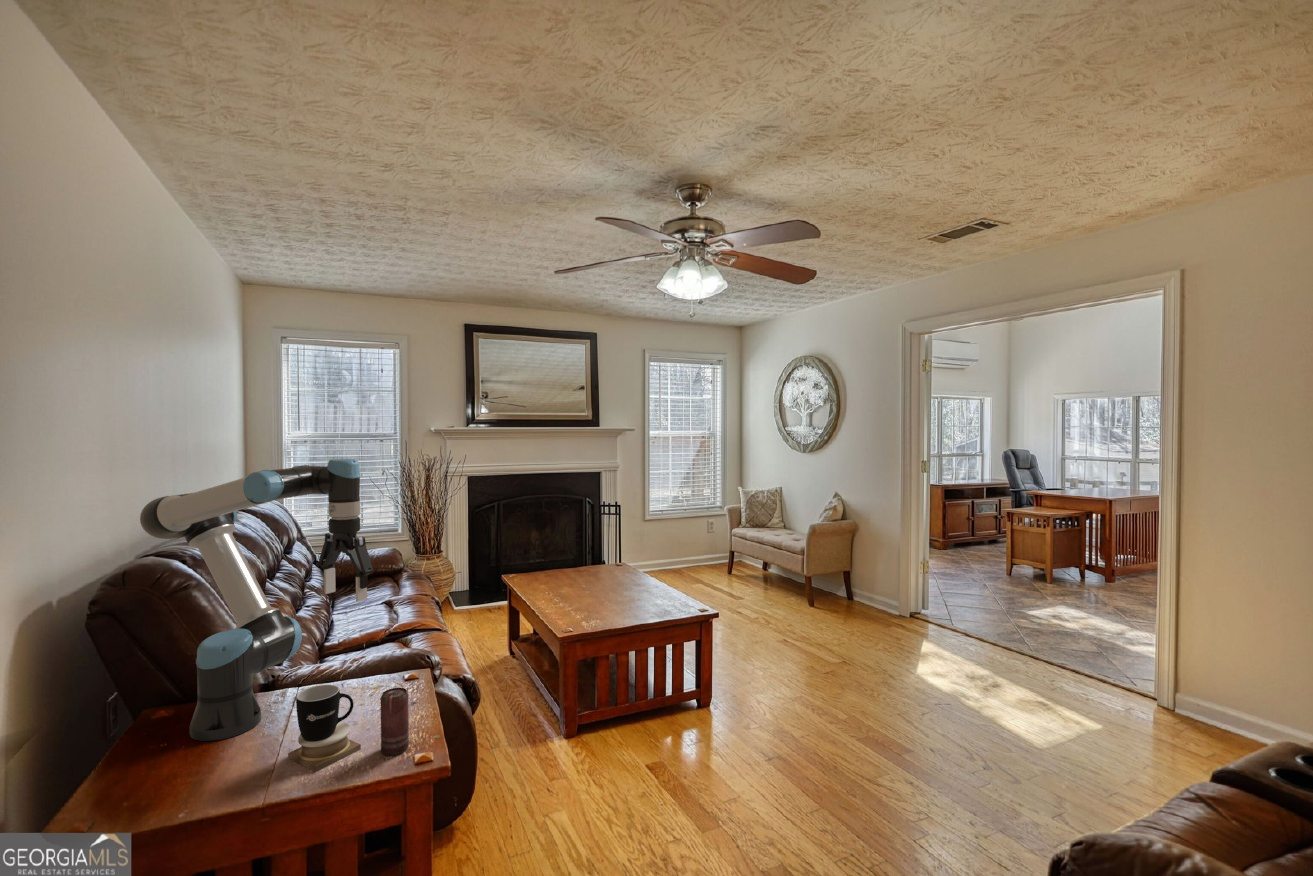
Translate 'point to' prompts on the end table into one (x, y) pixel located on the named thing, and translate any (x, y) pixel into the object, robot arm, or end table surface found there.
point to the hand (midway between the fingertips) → (345, 596)
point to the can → (394, 721)
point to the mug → (319, 711)
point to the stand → (325, 749)
